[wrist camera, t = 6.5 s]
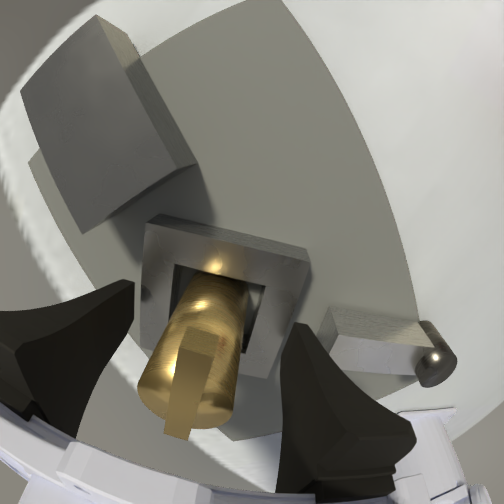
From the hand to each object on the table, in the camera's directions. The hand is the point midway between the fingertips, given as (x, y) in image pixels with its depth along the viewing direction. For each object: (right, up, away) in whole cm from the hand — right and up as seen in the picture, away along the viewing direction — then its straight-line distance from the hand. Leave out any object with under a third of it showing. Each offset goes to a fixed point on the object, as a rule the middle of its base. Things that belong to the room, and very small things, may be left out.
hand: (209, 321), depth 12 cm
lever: (+9, -1, +2) cm, 10 cm away
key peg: (0, +1, +2) cm, 2 cm away
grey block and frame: (-3, +6, 0) cm, 6 cm away
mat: (+2, +1, +2) cm, 3 cm away
